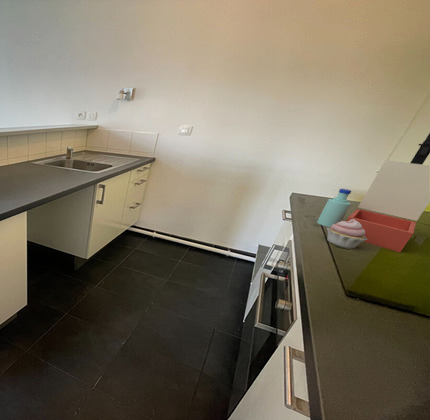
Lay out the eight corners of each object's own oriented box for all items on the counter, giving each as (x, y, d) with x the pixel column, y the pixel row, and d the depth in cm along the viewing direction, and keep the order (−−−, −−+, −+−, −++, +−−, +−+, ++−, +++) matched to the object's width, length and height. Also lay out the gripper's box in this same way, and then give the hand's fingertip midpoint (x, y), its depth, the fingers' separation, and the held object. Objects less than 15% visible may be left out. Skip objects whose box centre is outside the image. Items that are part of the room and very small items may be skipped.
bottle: (334, 226, 99) (354, 189, 93) (338, 231, 95) (360, 193, 89) (314, 222, 103) (332, 186, 96) (317, 226, 98) (337, 189, 92)
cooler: (398, 254, 80) (413, 233, 77) (337, 236, 91) (348, 217, 87) (402, 241, 89) (416, 222, 86) (346, 226, 100) (357, 208, 97)
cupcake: (315, 236, 90) (328, 211, 86) (349, 242, 86) (364, 217, 82) (328, 248, 82) (343, 221, 78) (366, 255, 78) (384, 228, 74)
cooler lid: (452, 168, 79) (452, 168, 80) (385, 160, 90) (385, 160, 91) (416, 221, 86) (416, 220, 86) (357, 207, 97) (358, 207, 97)
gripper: (484, 92, 74) (433, 167, 84) (480, 95, 81) (433, 165, 91) (441, 92, 80) (397, 163, 89) (440, 95, 87) (400, 161, 96)
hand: (415, 164), depth 90 cm, fingers closed
